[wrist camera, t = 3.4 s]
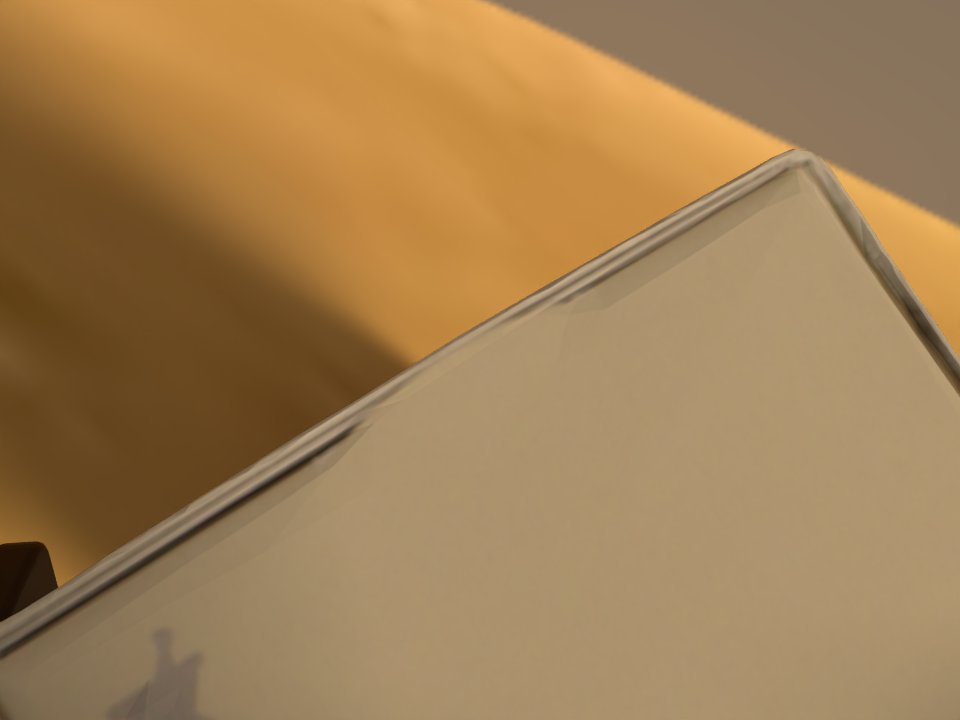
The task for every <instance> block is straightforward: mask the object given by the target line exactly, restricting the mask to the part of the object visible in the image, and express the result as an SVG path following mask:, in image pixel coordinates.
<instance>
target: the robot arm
mask: <svg viewBox="0 0 960 720" xmlns="http://www.w3.org/2000/svg"><path fill="white" fill-rule="evenodd" d="M57 588H58V585H57V581H56V578H55V574H54V570H53V567H52V563H51V559H50V556H49V552H48V550H47V548H46V546H45V545H44V544H43V543H41V542H21V543H5V544H1V545H0V622H2V621H4V620H5V619H7V618H9V617H11V616H13V615H15V614H16V613H18V612H20V611H22V610H24V609H25V608H27V607H28V606H30V605H31V604H33V603H35V602H36V601H38V600H39V599H41V598H42V597H44V596H46V595H47V594H49V593H50V592H52V591H54V590H55V589H57Z"/></svg>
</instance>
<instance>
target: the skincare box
mask: <svg viewBox="0 0 960 720" xmlns="http://www.w3.org/2000/svg"><path fill="white" fill-rule="evenodd" d="M0 720H960V358H959V357H958V355H957V354H956V352H955V351H954V349H953V348H952V346H951V345H950V343H949V342H948V340H947V339H946V337H945V336H944V334H943V333H942V331H941V330H940V328H939V327H938V325H937V324H936V322H935V321H934V319H933V318H932V317H931V315H930V314H929V312H928V311H927V309H926V308H925V306H924V305H923V304H922V302H921V301H920V299H919V298H918V296H917V295H916V293H915V292H914V290H913V289H912V288H911V286H910V285H909V283H908V282H907V280H906V279H905V277H904V276H903V274H902V273H901V272H900V270H899V269H898V267H897V266H896V265H895V263H894V262H893V260H892V259H891V258H890V256H889V255H888V254H887V252H886V250H885V249H884V247H883V246H882V244H881V242H880V241H879V239H878V237H877V236H876V234H875V233H874V231H873V230H872V228H871V227H870V225H869V224H868V222H867V221H866V219H865V218H864V216H863V215H862V213H861V212H860V210H859V209H858V207H857V206H856V205H855V203H854V202H853V201H852V199H851V198H850V196H849V195H848V194H847V192H846V191H845V189H844V188H843V186H842V185H841V183H840V182H839V180H838V179H837V177H836V176H835V174H834V173H833V171H832V170H831V169H830V168H829V166H828V165H827V164H826V163H825V162H824V161H823V160H822V159H821V158H820V157H818V156H817V155H815V154H814V153H812V152H808V151H803V150H797V149H792V150H789V151H787V152H784V153H782V154H780V155H777V156H775V157H773V158H771V159H769V160H767V161H765V162H764V163H762V164H760V165H758V166H757V167H755V168H753V169H751V170H749V171H748V172H746V173H744V174H742V175H741V176H739V177H737V178H735V179H733V180H731V181H730V182H728V183H726V184H724V185H722V186H720V187H719V188H717V189H715V190H713V191H711V192H710V193H708V194H706V195H704V196H702V197H701V198H699V199H697V200H695V201H693V202H692V203H690V204H688V205H686V206H685V207H683V208H681V209H679V210H677V211H676V212H674V213H672V214H670V215H668V216H667V217H665V218H663V219H662V220H660V221H658V222H656V223H655V224H653V225H651V226H650V227H648V228H646V229H645V230H643V231H641V232H639V233H638V234H636V235H634V236H632V237H631V238H629V239H627V240H625V241H624V242H622V243H620V244H618V245H616V246H615V247H613V248H611V249H609V250H608V251H606V252H604V253H602V254H601V255H599V256H597V257H595V258H594V259H592V260H590V261H588V262H587V263H585V264H583V265H581V266H580V267H578V268H576V269H574V270H573V271H571V272H569V273H567V274H566V275H564V276H562V277H560V278H559V279H557V280H555V281H553V282H552V283H550V284H548V285H546V286H545V287H543V288H541V289H539V290H538V291H536V292H534V293H532V294H531V295H529V296H527V297H525V298H524V299H522V300H520V301H518V302H517V303H515V304H513V305H512V306H510V307H508V308H506V309H505V310H503V311H501V312H499V313H498V314H496V315H494V316H493V317H491V318H489V319H487V320H486V321H484V322H482V323H480V324H479V325H477V326H475V327H473V328H472V329H470V330H468V331H467V332H465V333H463V334H462V335H460V336H458V337H457V338H455V339H454V340H452V341H450V342H449V343H447V344H446V345H444V346H442V347H441V348H439V349H438V350H436V351H434V352H433V353H431V354H430V355H428V356H426V357H425V358H423V359H422V360H420V361H418V362H417V363H415V364H413V365H412V366H410V367H409V368H407V369H405V370H404V371H402V372H401V373H399V374H397V375H396V376H394V377H393V378H391V379H389V380H388V381H386V382H385V383H383V384H381V385H380V386H378V387H377V388H375V389H373V390H372V391H370V392H369V393H367V394H365V395H364V396H362V397H361V398H359V399H357V400H356V401H354V402H353V403H351V404H349V405H348V406H346V407H344V408H343V409H341V410H339V411H338V412H336V413H334V414H332V415H331V416H329V417H327V418H326V419H324V420H322V421H321V422H319V423H317V424H316V425H314V426H312V427H310V428H309V429H307V430H305V431H304V432H302V433H301V434H299V435H298V436H296V437H294V438H293V439H291V440H290V441H288V442H286V443H285V444H283V445H282V446H280V447H278V448H277V449H275V450H274V451H272V452H270V453H269V454H267V455H266V456H264V457H262V458H261V459H259V460H258V461H256V462H255V463H253V464H251V465H250V466H248V467H247V468H245V469H243V470H242V471H240V472H239V473H237V474H235V475H234V476H232V477H231V478H229V479H228V480H226V481H224V482H223V483H221V484H220V485H218V486H216V487H215V488H213V489H212V490H210V491H208V492H207V493H205V494H204V495H202V496H201V497H199V498H197V499H196V500H194V501H193V502H191V503H189V504H188V505H186V506H185V507H183V508H182V509H180V510H179V511H177V512H176V513H174V514H173V515H171V516H169V517H168V518H166V519H165V520H163V521H162V522H160V523H158V524H157V525H155V526H153V527H152V528H150V529H149V530H147V531H145V532H144V533H142V534H140V535H139V536H137V537H135V538H134V539H132V540H130V541H129V542H127V543H126V544H124V545H123V546H121V547H120V548H118V549H116V550H115V551H113V552H112V553H110V554H109V555H107V556H106V557H104V558H103V559H101V560H100V561H98V562H97V563H95V564H94V565H92V566H91V567H89V568H88V569H86V570H85V571H83V572H82V573H80V574H79V575H77V576H76V577H74V578H73V579H71V580H70V581H68V582H67V583H65V584H63V585H62V586H60V587H59V588H57V589H55V590H54V591H52V592H50V593H49V594H47V595H46V596H44V597H42V598H41V599H39V600H38V601H36V602H35V603H33V604H31V605H30V606H28V607H27V608H25V609H24V610H22V611H20V612H18V613H16V614H15V615H13V616H11V617H9V618H7V619H5V620H4V621H2V622H0Z"/></svg>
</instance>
